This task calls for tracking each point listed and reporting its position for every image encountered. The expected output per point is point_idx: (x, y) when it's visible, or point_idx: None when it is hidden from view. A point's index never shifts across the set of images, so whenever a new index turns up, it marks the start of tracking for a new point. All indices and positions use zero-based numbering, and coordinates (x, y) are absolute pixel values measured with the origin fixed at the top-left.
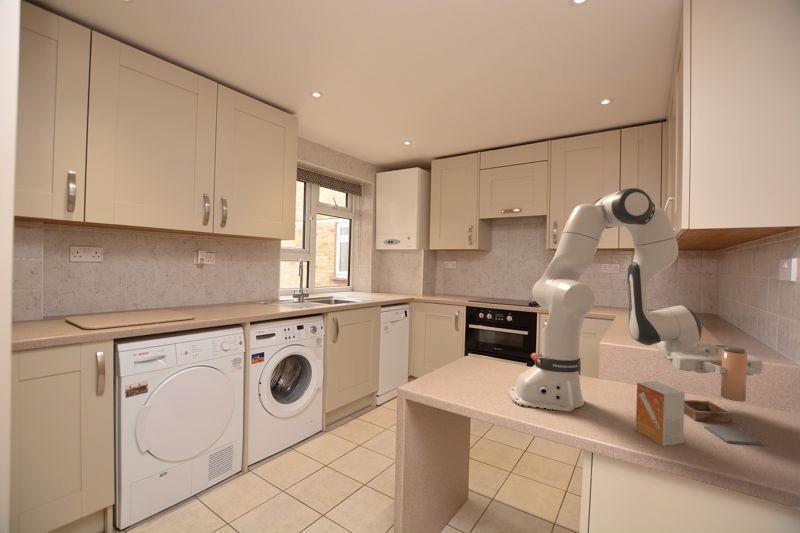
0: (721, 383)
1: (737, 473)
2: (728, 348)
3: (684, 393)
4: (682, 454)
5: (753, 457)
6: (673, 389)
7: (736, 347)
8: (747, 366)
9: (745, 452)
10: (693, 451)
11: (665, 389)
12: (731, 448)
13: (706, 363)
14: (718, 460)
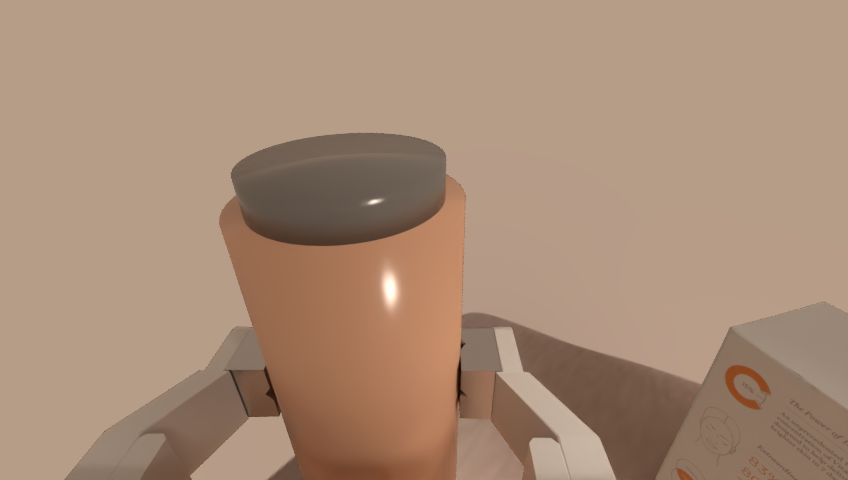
0: (455, 469)
1: (542, 344)
2: (430, 150)
3: (727, 332)
4: (659, 410)
5: None
6: (797, 352)
7: (268, 175)
8: (200, 372)
9: None
10: (623, 432)
11: (840, 345)
12: (484, 468)
13: (590, 436)
14: (563, 390)
